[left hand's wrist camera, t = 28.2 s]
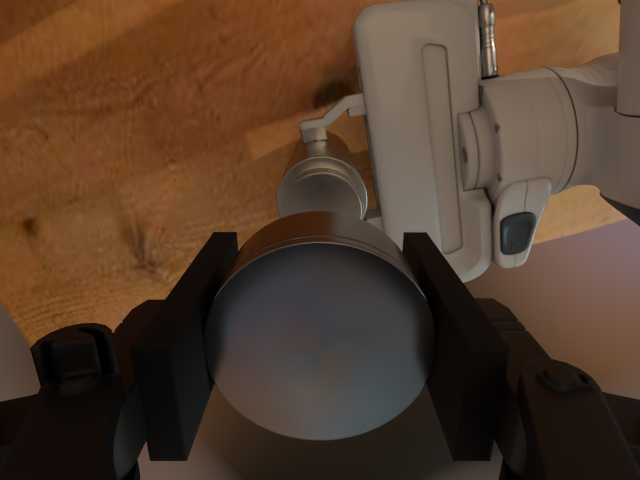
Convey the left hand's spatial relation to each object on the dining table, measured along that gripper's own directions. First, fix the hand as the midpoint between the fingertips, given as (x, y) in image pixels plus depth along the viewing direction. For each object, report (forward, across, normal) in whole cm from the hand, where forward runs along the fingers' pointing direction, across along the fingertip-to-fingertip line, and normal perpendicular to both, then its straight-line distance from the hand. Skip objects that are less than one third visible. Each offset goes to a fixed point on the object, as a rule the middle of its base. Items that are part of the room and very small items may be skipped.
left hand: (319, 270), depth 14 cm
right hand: (+18, -1, 0) cm, 18 cm away
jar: (+24, 0, 0) cm, 24 cm away
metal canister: (-4, 0, 0) cm, 4 cm away
